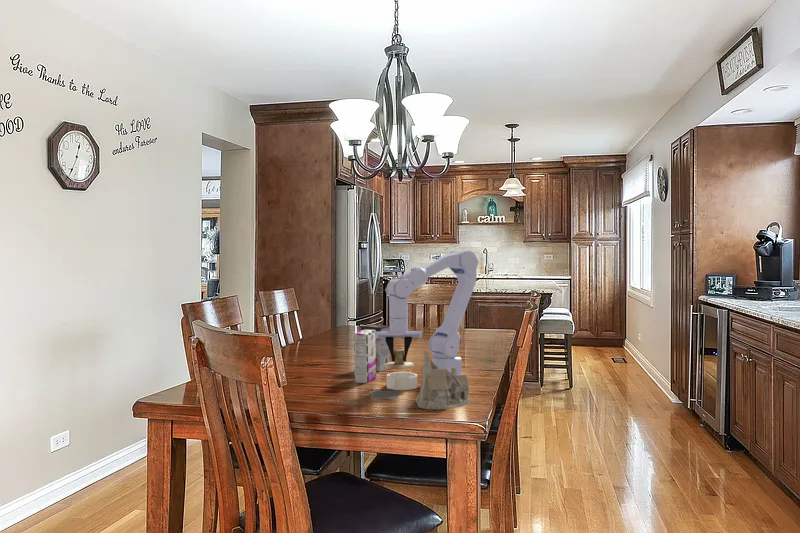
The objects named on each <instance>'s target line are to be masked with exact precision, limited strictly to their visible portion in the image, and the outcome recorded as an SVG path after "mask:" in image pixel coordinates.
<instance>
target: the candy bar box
mask: <svg viewBox="0 0 800 533" xmlns="http://www.w3.org/2000/svg"><path fill="white" fill-rule="evenodd" d="M353 351H354V352H353V356H354V358H353V359H354V361H353V362H354V383H358V384H359V383H360V384H362V383H363V384H369V383H370V382H371V381H373V380H375V379H376V378H377V371H376V338H375V330H362V331H361V330H360V331H358V332H355V333H354V334H353Z"/></svg>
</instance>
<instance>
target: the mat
mask: <svg viewBox="0 0 800 533" xmlns="http://www.w3.org/2000/svg"><path fill="white" fill-rule="evenodd" d="M398 398H399V390H371V395H370V397H369V399H370V400H373V399H376V400H377V399H381V400H382V399H384V400H385V399H387V400H389V399H390V400H392V399H393V400H395V399H398Z"/></svg>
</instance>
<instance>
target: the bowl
mask: <svg viewBox="0 0 800 533" xmlns="http://www.w3.org/2000/svg"><path fill="white" fill-rule="evenodd" d="M386 389H389V390H392V391H411V390H414V389H418V373H415V372H410V371H409V372H408V371H397V372H396V371H394V372H391V373H390V372H389V373H386Z"/></svg>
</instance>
